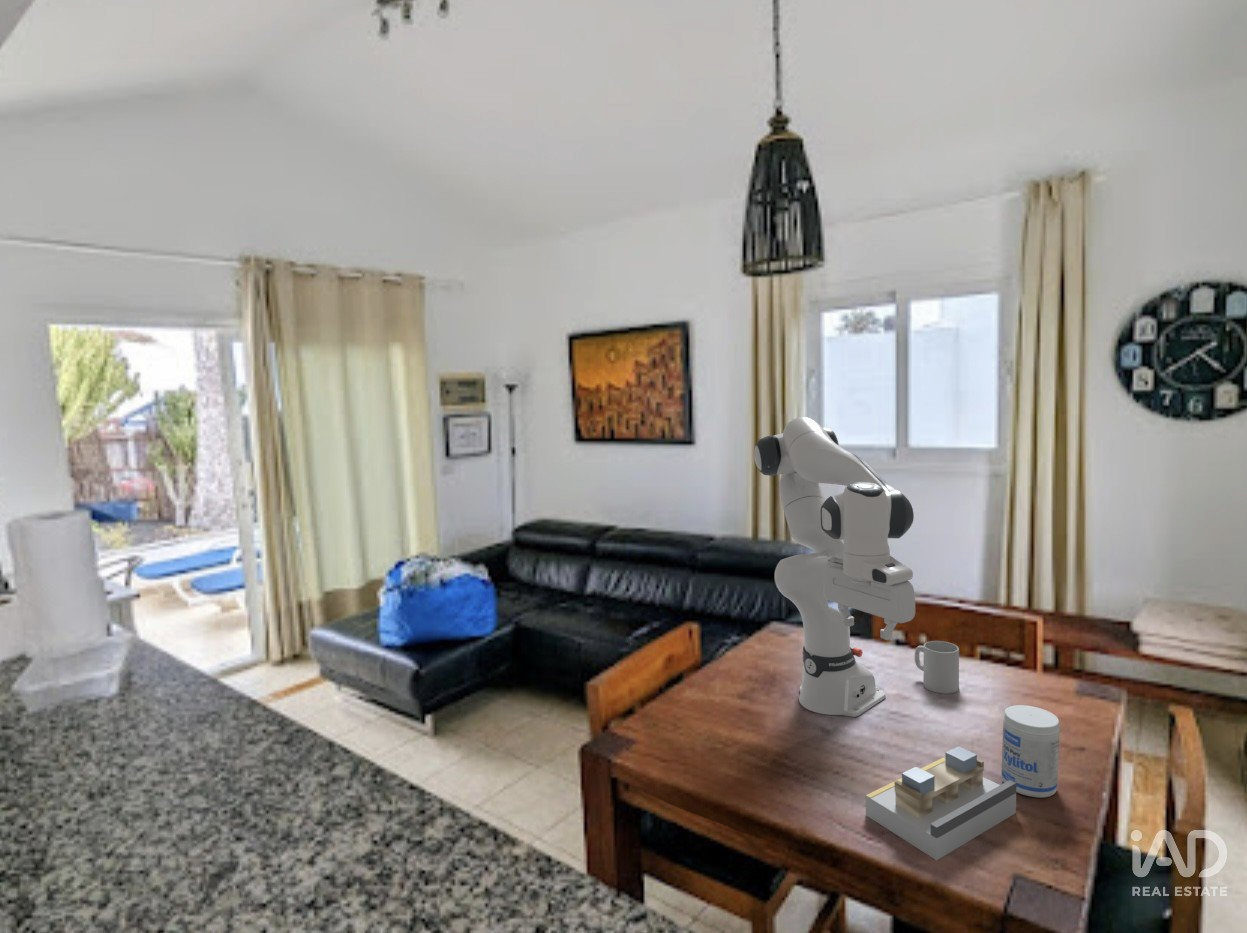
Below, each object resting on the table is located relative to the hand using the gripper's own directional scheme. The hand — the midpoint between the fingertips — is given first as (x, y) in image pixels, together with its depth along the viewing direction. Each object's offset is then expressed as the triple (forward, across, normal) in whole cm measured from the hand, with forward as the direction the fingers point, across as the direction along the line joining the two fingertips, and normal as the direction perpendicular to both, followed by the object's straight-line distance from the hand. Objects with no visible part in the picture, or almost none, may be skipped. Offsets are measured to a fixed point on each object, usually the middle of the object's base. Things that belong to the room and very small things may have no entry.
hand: (866, 631), depth 139 cm
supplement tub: (+31, +20, +23) cm, 44 cm away
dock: (+31, +16, +1) cm, 35 cm away
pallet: (+27, +16, +1) cm, 31 cm away
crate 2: (+24, +16, +7) cm, 29 cm away
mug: (+31, -19, +48) cm, 60 cm away
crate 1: (+24, +16, -5) cm, 29 cm away
